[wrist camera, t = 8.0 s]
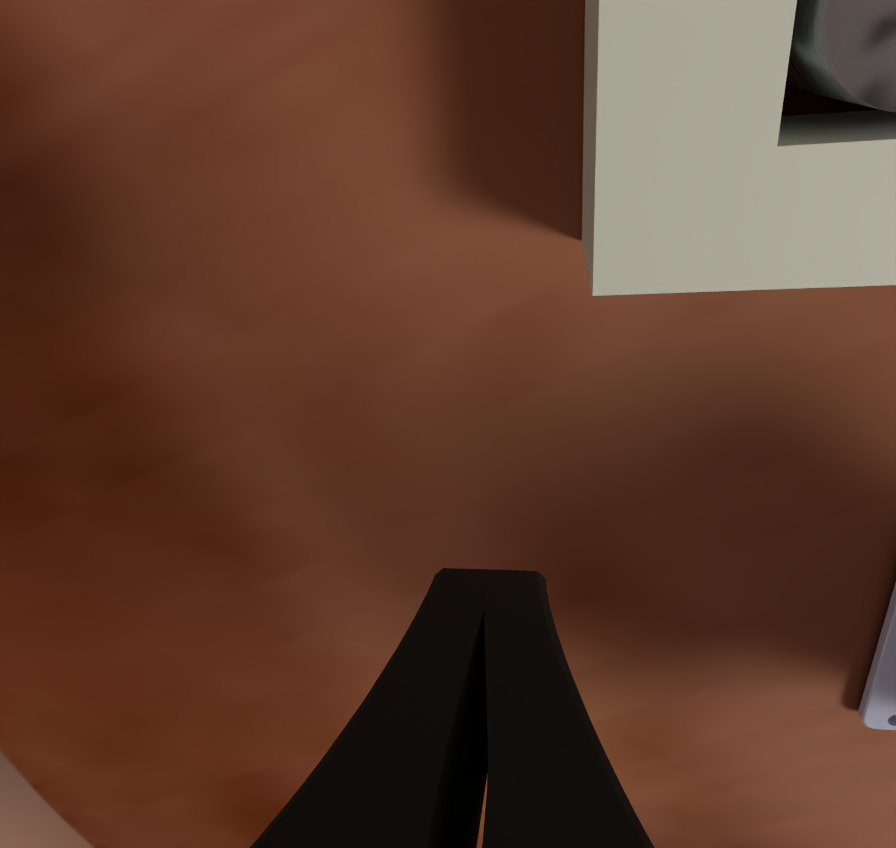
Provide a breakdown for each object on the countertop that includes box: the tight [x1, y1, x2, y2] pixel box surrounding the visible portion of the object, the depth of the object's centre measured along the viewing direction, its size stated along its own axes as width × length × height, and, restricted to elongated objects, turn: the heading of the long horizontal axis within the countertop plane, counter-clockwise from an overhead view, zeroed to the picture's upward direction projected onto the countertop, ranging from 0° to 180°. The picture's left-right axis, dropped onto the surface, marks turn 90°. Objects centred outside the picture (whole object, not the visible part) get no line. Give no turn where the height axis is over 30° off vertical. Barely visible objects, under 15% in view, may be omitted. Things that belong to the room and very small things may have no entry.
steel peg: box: [786, 0, 896, 112], centre depth 12 cm, size 3×3×4 cm
